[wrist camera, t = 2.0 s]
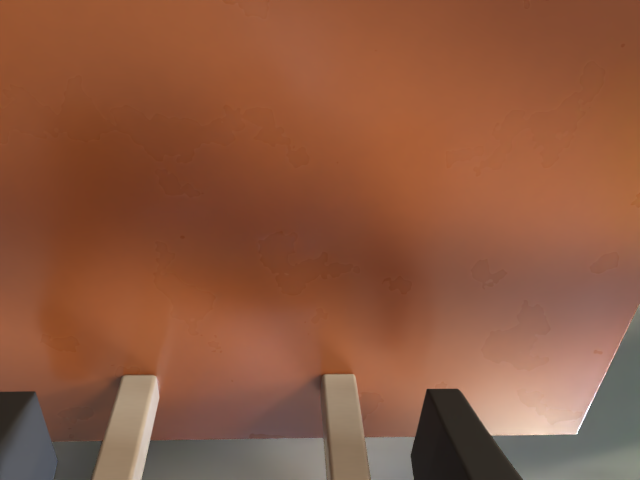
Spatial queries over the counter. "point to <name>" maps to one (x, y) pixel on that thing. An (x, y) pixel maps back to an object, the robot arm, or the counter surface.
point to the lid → (314, 216)
